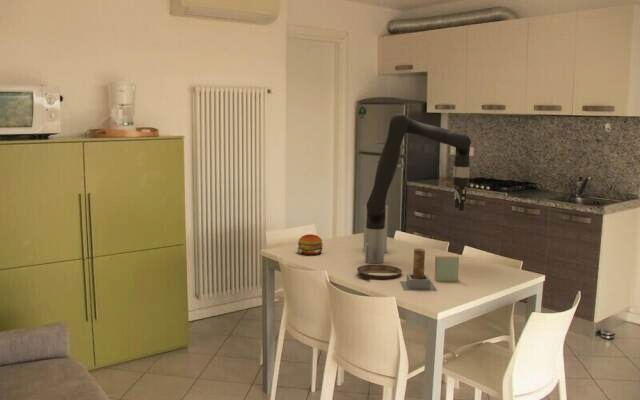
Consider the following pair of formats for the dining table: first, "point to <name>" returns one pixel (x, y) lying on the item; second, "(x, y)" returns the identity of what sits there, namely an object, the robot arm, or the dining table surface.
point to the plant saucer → (378, 271)
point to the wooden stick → (418, 264)
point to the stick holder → (417, 284)
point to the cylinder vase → (385, 228)
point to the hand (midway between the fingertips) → (459, 209)
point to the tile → (446, 268)
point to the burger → (310, 244)
